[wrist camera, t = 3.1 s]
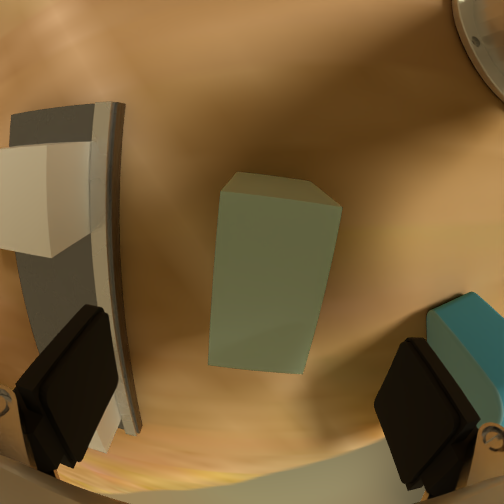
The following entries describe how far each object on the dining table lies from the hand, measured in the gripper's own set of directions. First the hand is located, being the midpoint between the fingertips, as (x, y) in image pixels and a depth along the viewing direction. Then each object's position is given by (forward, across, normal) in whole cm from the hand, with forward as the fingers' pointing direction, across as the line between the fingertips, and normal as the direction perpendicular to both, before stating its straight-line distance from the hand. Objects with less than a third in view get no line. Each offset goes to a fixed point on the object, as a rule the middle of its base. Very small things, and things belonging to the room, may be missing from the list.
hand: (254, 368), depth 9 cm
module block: (+12, -1, -1) cm, 12 cm away
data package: (+12, -19, +7) cm, 23 cm away
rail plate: (+12, +14, +6) cm, 20 cm away
